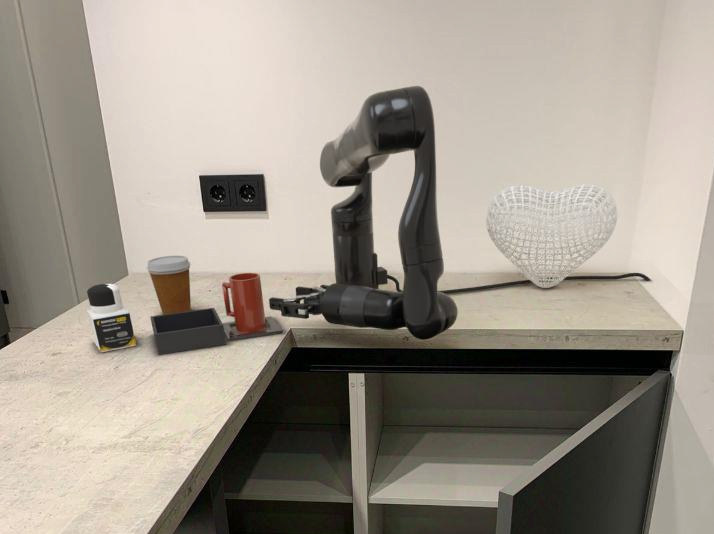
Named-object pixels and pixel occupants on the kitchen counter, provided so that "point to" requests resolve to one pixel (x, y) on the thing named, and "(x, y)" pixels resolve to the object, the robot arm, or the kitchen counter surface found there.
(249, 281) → the red mug
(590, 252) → the heart
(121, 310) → the medicine bottle
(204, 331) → the grey square storage bin
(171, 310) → the disposable coffee cup
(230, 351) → the kitchen counter surface
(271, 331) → the hollow square frame
